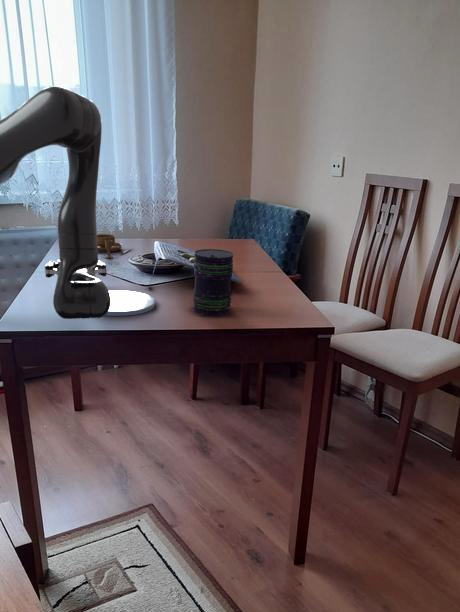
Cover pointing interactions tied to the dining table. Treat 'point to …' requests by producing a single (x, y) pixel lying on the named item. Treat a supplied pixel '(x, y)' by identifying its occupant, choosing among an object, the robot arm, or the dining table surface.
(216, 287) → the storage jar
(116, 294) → the plate
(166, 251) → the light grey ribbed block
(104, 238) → the place setting
